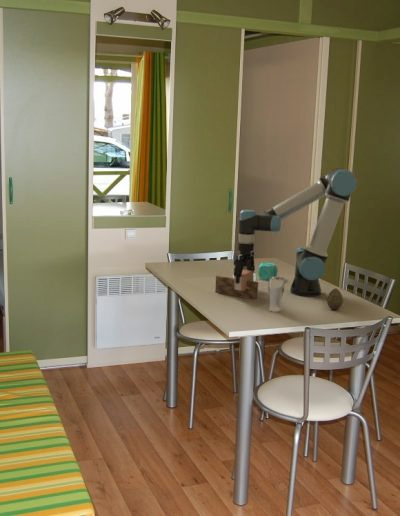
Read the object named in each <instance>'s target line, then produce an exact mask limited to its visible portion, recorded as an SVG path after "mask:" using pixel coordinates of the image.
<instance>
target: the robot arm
mask: <svg viewBox="0 0 400 516" xmlns="http://www.w3.org/2000/svg"><path fill="white" fill-rule="evenodd" d="M356 188H357V178H356V176H355V175H354V173H353V172H352V171H351V170H348V169H346V168H345V167H344V168H343V167H338V168H334V169H332V170H331V171H329V172H328V173H326V174H325V175H323V176H321V177H319V178H318V180H317V182H315V183H313V184H312V185H310V186H308V187H307V188H306V187H305V189H303V190H301V191H299V192H297V193H296V194H293V195H292V196H290V197H289V198H287V199H285V200H283V201H281V202H279V203H278V204H276V205H275V206H273V207H271V208H269V209H268V210H264V211H262V212H261V213H260V214H257V211H256V210H254V209H242V210H241V211H240V212H239V221H238V225H239V226H238V230H239V231H238V243H237V250H238V251H239V254H236V258H235V259H236V264H235V269H234V268H233V277H234V276H236V285H235V289H236V290H241V282H242V277H241V274H242V271H243V268H244V264H246V267H247V270H250V271H254V272H255V270H256V269H255V268H256V267H255V266H256V265H255V252H254V250H255V248H254V247H255V244H254V242H255V233H256V232H255V231H257V232H272V233H273V232H277V233H278V232H280V230H281V226H282V223H281V222H282V220H284V219H286V218H288V217H289V216H291V215H294V214H295V213H297V212H298V211H300V210H302V209H304V208H305V207H307V206H309V205H311V204H313V203H314V202H316V201H318V200H319V199H322V198H323V197H325V200H324V204H323V206H322V208H321V211H320V214H319V216H318V220H317V223H316V226H315V228H314V231H313V234H312V237H311V239H310V241H309V245H308V246H305V247H303V246H302V247H301V246H300V247H297V249H296V252H295V254H296V257H295V268H294V269H295V271H294V278H293V281H292V283H291V285H290V293H291V294H293V295H296V296H302V297H303V296H304V297H316V296H320V295H321V294H322V288H321V285H320V284H321V283H320V280H319V279H320V278H321V277H322V276H323V275H324V274H325V270H326V264H327V261H328V257H329V255H328V252H327V251H328V247H329V245H330V243H331V239H332V238H333V234H334V232H335V229H336V226H337V223H338V221H339V218H340V215H341V213H342V210H343V207H344V205H345V204H346V203H348V202H349V201H350V199H351V195H352V193H354V191H355V190H356Z"/></svg>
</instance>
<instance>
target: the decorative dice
mask: <svg viewBox="0 0 400 516" xmlns="http://www.w3.org/2000/svg"><path fill="white" fill-rule="evenodd" d="M278 271H279V269H278V267H277V265H276V264H275V263H273V262H261V263H260V264H259V266H258V269H257V276H258V277H259V279H260V280H264V281H269V279H270V277H278Z"/></svg>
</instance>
